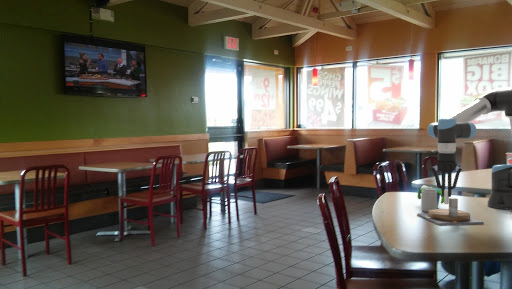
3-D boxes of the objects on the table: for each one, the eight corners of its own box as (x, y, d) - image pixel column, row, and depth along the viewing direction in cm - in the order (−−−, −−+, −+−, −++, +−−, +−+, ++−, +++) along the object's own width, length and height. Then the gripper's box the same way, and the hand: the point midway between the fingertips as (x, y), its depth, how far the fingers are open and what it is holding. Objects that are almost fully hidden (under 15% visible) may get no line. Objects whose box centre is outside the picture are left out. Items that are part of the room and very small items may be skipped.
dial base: (457, 214, 210) (457, 211, 210) (483, 224, 190) (483, 221, 189) (417, 215, 209) (417, 212, 209) (439, 225, 188) (439, 222, 188)
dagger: (441, 200, 242) (433, 186, 268) (433, 192, 242) (426, 179, 268) (430, 209, 244) (424, 193, 271) (422, 201, 244) (417, 187, 271)
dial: (425, 212, 210) (425, 192, 209) (464, 213, 206) (464, 193, 205) (432, 220, 191) (433, 198, 191) (475, 222, 188) (476, 200, 187)
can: (438, 213, 214) (438, 189, 213) (422, 212, 215) (422, 189, 215) (435, 210, 221) (435, 187, 220) (420, 209, 222) (420, 187, 222)
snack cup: (449, 209, 223) (449, 190, 223) (434, 210, 219) (434, 191, 219) (427, 204, 238) (427, 186, 237) (412, 205, 234) (412, 187, 233)
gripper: (429, 152, 191) (429, 203, 193) (461, 153, 184) (461, 206, 185) (433, 151, 198) (432, 201, 199) (463, 152, 191) (463, 203, 192)
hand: (446, 203), depth 192 cm, fingers closed
